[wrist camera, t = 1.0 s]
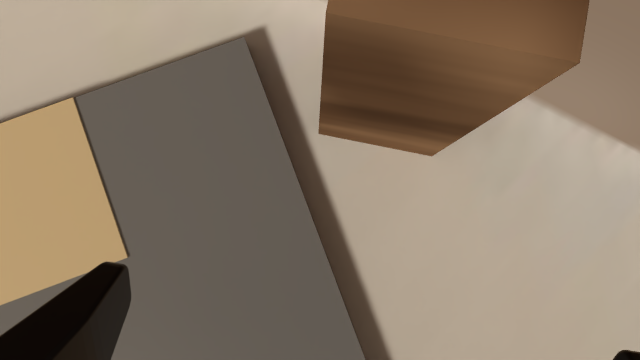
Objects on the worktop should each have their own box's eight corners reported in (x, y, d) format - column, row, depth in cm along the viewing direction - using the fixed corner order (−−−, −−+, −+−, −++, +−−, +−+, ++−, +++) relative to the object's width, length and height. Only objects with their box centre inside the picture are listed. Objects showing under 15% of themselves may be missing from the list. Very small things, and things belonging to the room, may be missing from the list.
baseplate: (379, 396, 22) (382, 404, 21) (7, 543, 22) (-9, 560, 20) (246, 44, 24) (243, 35, 23) (-108, 172, 23) (-129, 169, 22)
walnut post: (431, 156, 23) (579, 62, 10) (318, 133, 23) (325, 12, 10) (451, 46, 24) (616, -174, 11) (340, 24, 24) (373, -221, 11)
